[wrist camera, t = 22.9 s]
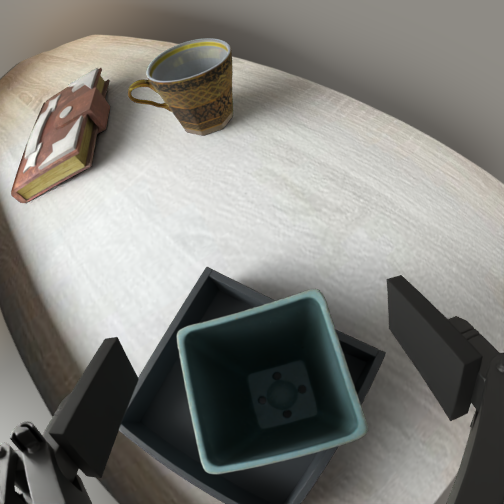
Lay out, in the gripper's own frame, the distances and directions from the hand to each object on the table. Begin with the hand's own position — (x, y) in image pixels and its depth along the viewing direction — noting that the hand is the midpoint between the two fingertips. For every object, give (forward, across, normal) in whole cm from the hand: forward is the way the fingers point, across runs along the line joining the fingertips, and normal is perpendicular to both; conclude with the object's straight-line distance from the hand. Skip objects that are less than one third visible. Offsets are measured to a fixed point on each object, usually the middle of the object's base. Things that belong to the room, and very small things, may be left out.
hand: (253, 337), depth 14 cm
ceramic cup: (+31, +4, -13) cm, 34 cm away
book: (+37, +26, -19) cm, 49 cm away
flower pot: (+6, 0, +10) cm, 12 cm away
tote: (+7, +3, +11) cm, 13 cm away
